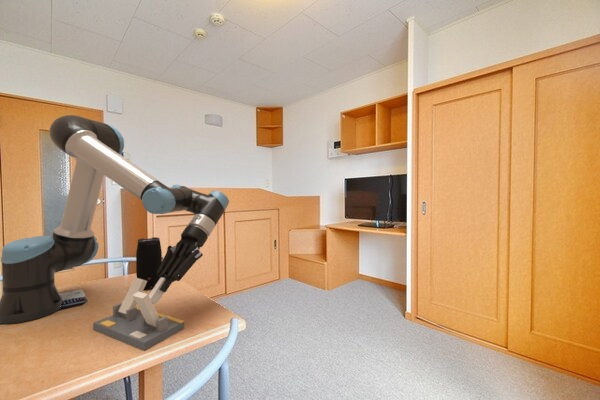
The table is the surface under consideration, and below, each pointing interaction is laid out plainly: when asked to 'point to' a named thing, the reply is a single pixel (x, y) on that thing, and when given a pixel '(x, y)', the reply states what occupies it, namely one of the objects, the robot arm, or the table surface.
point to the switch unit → (137, 327)
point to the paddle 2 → (146, 308)
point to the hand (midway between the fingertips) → (151, 301)
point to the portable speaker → (148, 260)
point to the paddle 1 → (129, 300)
